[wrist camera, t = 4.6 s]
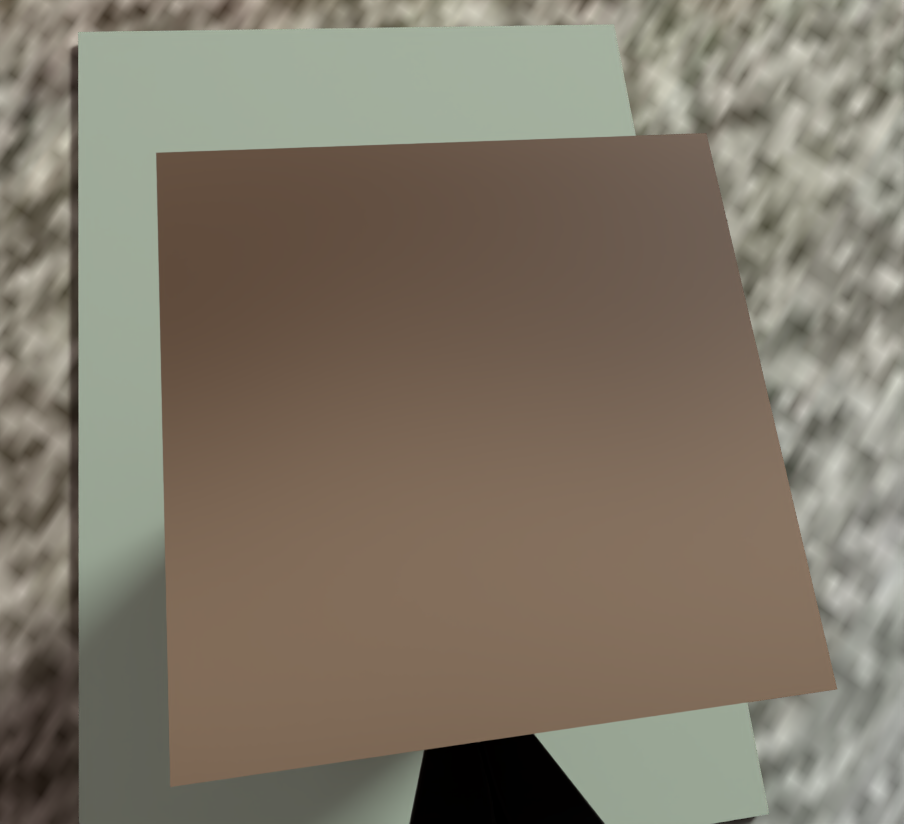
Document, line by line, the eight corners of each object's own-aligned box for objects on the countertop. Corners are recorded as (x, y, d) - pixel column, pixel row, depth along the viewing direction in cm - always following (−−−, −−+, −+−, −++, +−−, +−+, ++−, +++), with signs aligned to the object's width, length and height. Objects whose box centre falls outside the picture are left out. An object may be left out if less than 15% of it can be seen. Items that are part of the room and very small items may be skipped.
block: (532, 653, 17) (837, 688, 6) (296, 683, 16) (169, 786, 5) (500, 429, 18) (705, 132, 7) (282, 449, 17) (156, 152, 7)
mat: (762, 811, 17) (769, 814, 17) (84, 924, 15) (78, 930, 15) (610, 32, 22) (613, 24, 21) (82, 40, 20) (78, 31, 19)
